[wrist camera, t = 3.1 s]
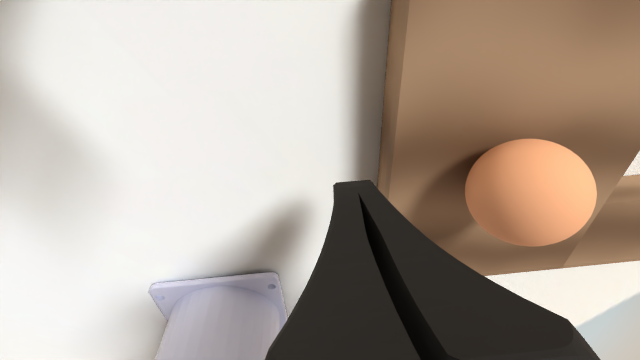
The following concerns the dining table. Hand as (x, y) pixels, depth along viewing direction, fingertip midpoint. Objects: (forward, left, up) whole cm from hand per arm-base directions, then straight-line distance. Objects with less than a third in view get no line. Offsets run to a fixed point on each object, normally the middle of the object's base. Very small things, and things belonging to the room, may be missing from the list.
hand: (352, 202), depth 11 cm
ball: (0, -6, 0) cm, 7 cm away
